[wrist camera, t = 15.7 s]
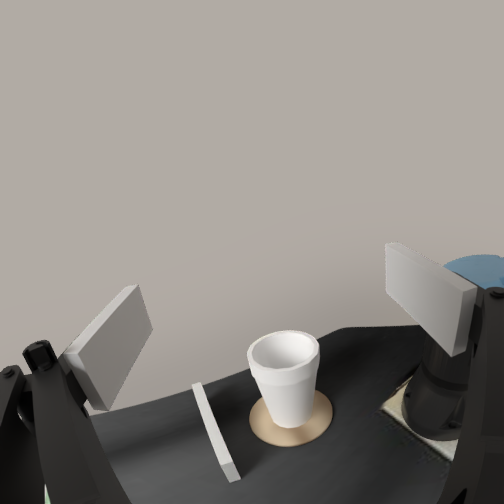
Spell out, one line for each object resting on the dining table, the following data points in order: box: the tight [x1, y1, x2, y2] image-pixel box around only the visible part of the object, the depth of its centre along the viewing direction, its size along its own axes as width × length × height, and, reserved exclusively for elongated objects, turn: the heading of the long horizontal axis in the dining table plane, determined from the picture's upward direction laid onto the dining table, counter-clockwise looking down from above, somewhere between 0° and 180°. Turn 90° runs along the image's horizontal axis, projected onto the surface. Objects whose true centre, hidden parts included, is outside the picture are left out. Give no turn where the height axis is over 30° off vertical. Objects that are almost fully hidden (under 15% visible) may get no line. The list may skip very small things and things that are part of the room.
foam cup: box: [247, 330, 320, 428], centre depth 38 cm, size 10×9×13 cm
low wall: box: [192, 382, 241, 482], centre depth 36 cm, size 2×18×5 cm, turn 21°
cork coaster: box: [249, 390, 332, 447], centre depth 40 cm, size 13×13×1 cm
